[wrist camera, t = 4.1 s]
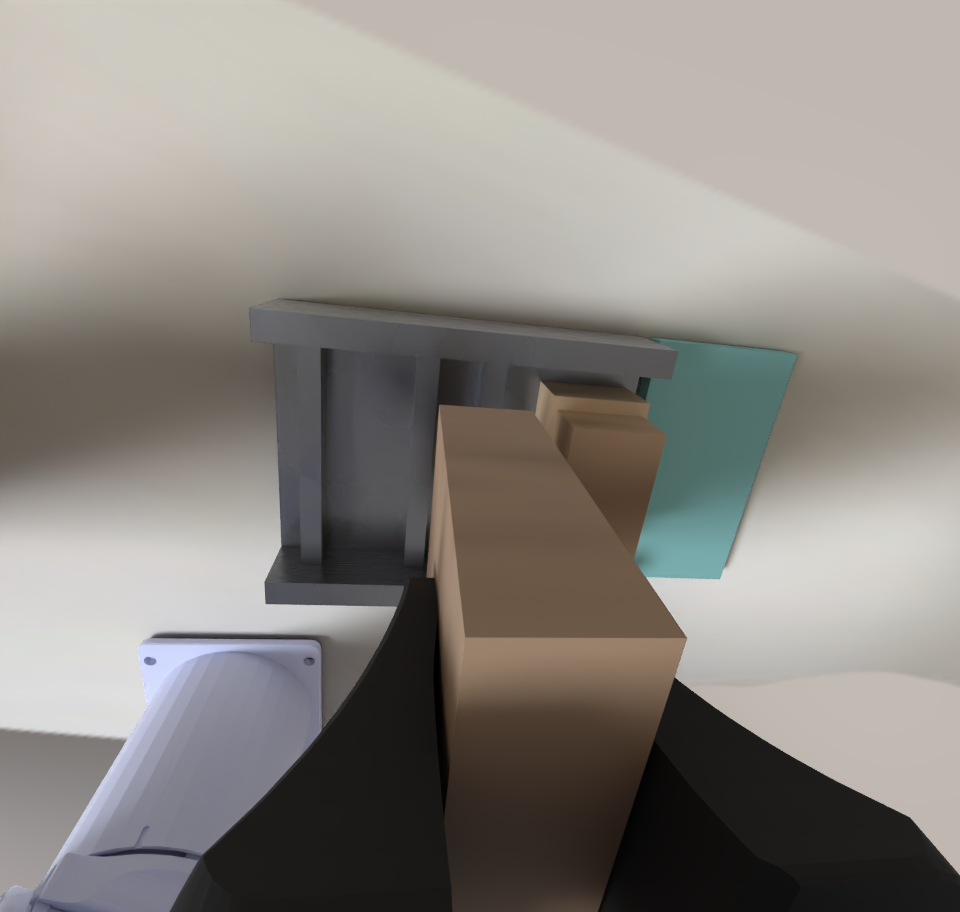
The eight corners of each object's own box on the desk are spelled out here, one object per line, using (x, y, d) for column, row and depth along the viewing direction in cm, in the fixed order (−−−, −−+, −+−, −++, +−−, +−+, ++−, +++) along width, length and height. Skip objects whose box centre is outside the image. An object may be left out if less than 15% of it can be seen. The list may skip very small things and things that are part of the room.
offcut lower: (593, 538, 23) (610, 566, 21) (516, 535, 22) (525, 563, 20) (627, 388, 20) (650, 403, 18) (540, 380, 20) (554, 395, 18)
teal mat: (711, 569, 25) (719, 579, 24) (597, 565, 24) (603, 575, 23) (784, 351, 21) (797, 354, 20) (651, 337, 20) (660, 340, 19)
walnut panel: (497, 643, 16) (567, 1004, 9) (421, 643, 16) (421, 1018, 8) (532, 410, 13) (687, 637, 6) (439, 404, 13) (464, 637, 5)
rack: (587, 565, 24) (611, 610, 21) (286, 555, 22) (265, 603, 19) (639, 336, 20) (678, 351, 17) (277, 298, 18) (248, 308, 15)
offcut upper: (608, 555, 20) (626, 586, 19) (532, 553, 20) (543, 584, 18) (641, 416, 18) (666, 435, 16) (557, 409, 18) (573, 428, 16)
